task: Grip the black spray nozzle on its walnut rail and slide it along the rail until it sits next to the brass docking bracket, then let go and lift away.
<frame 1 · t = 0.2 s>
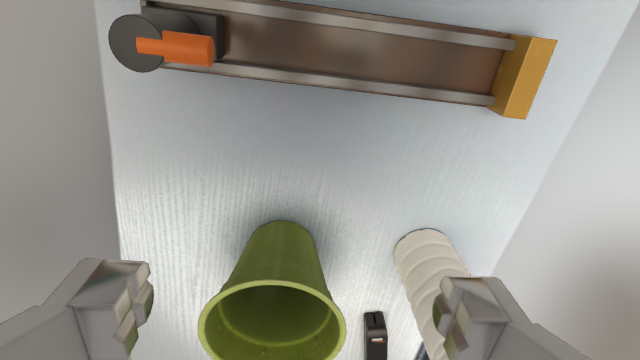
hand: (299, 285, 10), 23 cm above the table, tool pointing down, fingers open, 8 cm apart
plant pot: (281, 246, 37), on the table
nozzle: (177, 38, 22), point 6 cm above the table, slide at 0.0 cm
rail: (349, 51, 28), on the table
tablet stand: (372, 356, 47), on the table
dock: (501, 71, 30), resting on rail
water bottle: (417, 243, 38), on the table
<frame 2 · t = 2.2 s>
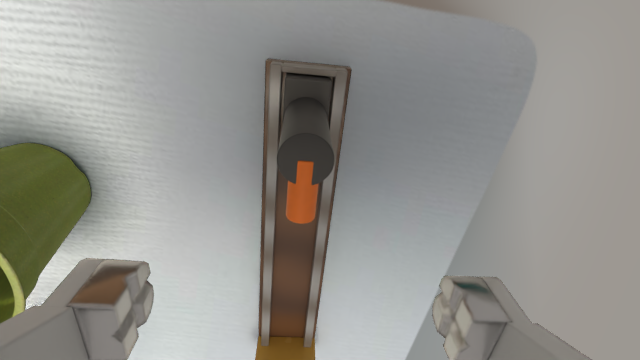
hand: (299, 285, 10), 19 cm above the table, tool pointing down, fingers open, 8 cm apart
plant pot: (46, 180, 28), on the table
nozzle: (304, 138, 21), point 6 cm above the table, slide at 0.0 cm
rail: (294, 236, 31), on the table
dock: (286, 334, 38), resting on rail
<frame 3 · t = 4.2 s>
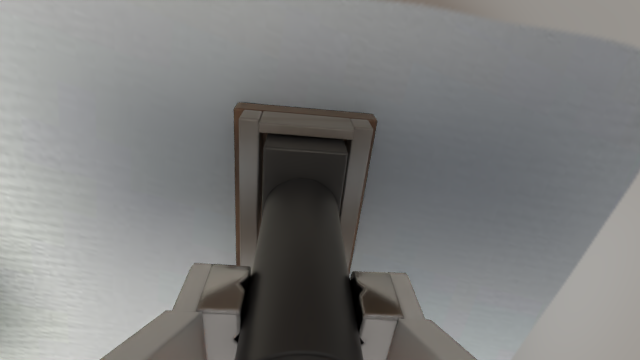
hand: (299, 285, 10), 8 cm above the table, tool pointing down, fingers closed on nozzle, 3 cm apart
nozzle: (299, 263, 11), point 6 cm above the table, slide at 0.0 cm, touching gripper
rail: (287, 342, 22), on the table
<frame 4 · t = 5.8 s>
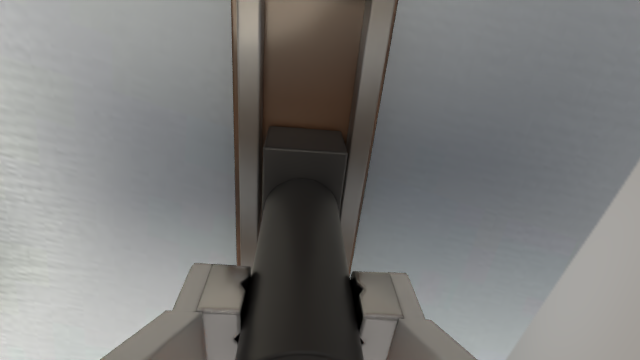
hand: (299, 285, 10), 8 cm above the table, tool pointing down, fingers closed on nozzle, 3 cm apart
nozzle: (299, 263, 11), point 6 cm above the table, slide at 4.8 cm, touching gripper
rail: (292, 287, 20), on the table
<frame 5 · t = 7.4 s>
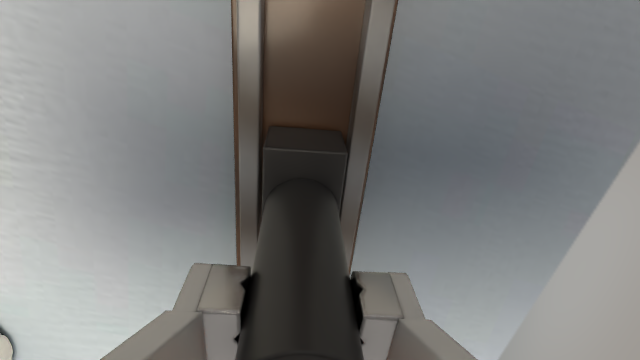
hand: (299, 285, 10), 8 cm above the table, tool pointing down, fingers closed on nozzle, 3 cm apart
nozzle: (299, 263, 11), point 6 cm above the table, slide at 11.2 cm, touching gripper
rail: (299, 192, 17), on the table
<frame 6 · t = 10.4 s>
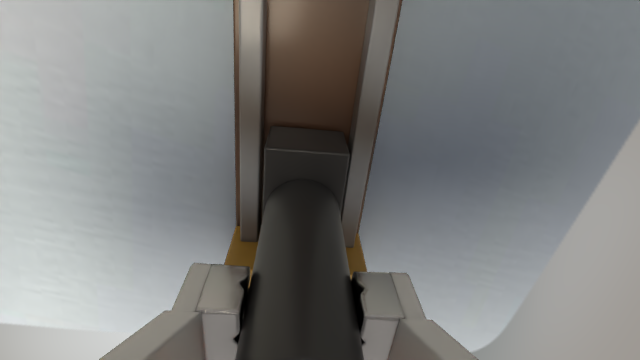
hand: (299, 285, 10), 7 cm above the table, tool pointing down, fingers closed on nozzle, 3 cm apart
nozzle: (300, 265, 11), point 6 cm above the table, slide at 22.2 cm, touching gripper
dock: (297, 233, 18), resting on rail
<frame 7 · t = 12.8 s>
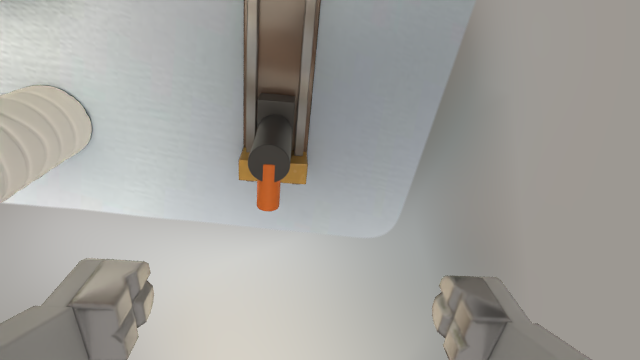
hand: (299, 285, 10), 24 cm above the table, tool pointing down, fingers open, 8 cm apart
nozzle: (273, 146, 27), point 6 cm above the table, slide at 22.2 cm
rail: (282, 2, 28), on the table
dock: (275, 155, 34), resting on rail
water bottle: (65, 113, 31), on the table
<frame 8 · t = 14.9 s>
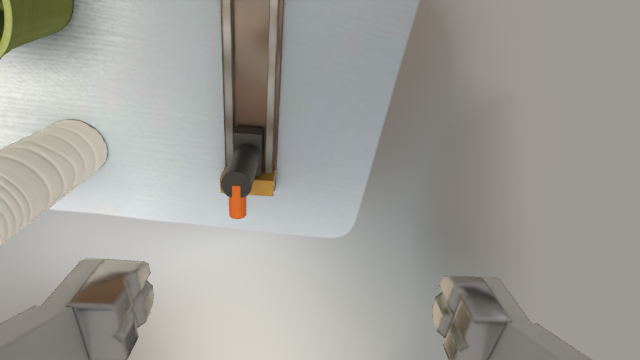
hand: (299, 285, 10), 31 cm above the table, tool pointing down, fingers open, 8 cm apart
nozzle: (244, 169, 35), point 6 cm above the table, slide at 22.2 cm
rail: (252, 57, 36), on the table
dock: (251, 171, 42), resting on rail
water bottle: (87, 140, 40), on the table
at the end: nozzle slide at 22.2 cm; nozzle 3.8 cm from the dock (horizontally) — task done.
